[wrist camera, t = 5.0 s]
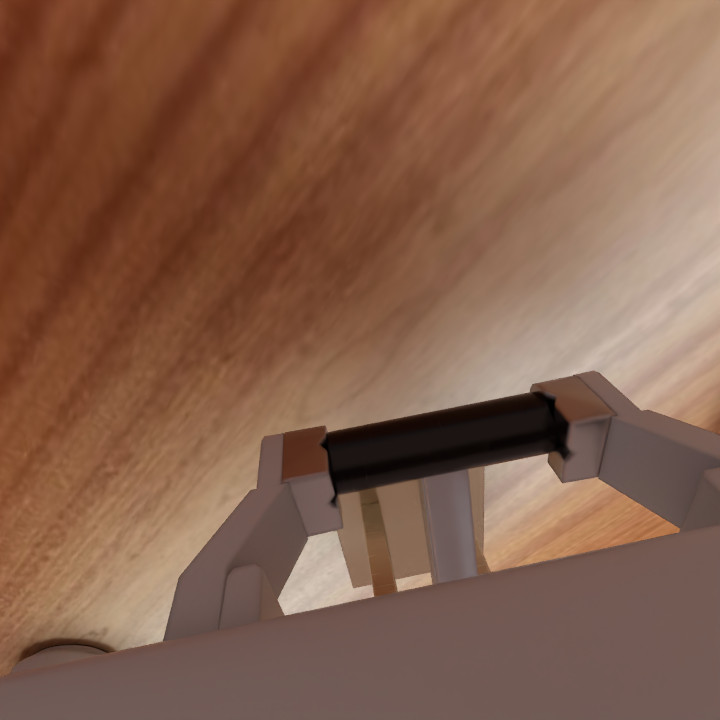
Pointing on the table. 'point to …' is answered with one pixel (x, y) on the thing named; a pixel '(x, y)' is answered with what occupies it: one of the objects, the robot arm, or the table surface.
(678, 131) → the table surface
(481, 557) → the bracket
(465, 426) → the lever
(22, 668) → the beverage can
